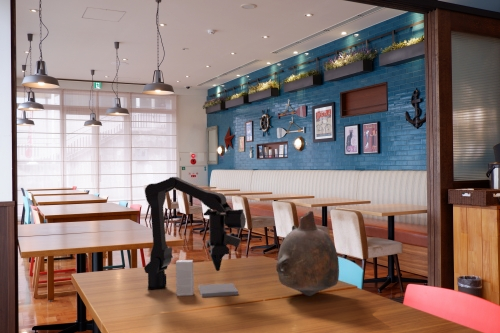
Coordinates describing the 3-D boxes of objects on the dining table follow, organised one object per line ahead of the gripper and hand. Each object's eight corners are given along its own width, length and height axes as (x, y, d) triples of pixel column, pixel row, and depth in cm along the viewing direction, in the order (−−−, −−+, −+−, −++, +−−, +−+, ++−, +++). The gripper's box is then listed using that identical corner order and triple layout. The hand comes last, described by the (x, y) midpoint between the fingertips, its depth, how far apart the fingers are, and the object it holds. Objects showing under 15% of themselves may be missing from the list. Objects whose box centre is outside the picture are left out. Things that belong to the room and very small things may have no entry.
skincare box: (193, 292, 180) (193, 259, 180) (193, 295, 175) (192, 261, 175) (177, 293, 179) (176, 260, 179) (176, 296, 175) (175, 262, 175)
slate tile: (201, 297, 173) (201, 293, 173) (198, 288, 186) (198, 285, 186) (238, 294, 176) (238, 291, 176) (232, 286, 188) (232, 283, 188)
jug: (295, 285, 189) (294, 206, 189) (349, 291, 178) (348, 208, 178) (264, 300, 168) (263, 212, 168) (323, 308, 157) (322, 214, 157)
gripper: (243, 229, 173) (243, 274, 173) (234, 224, 192) (235, 264, 191) (211, 231, 171) (212, 276, 171) (205, 225, 189) (206, 265, 189)
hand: (217, 270), depth 181 cm, fingers closed
